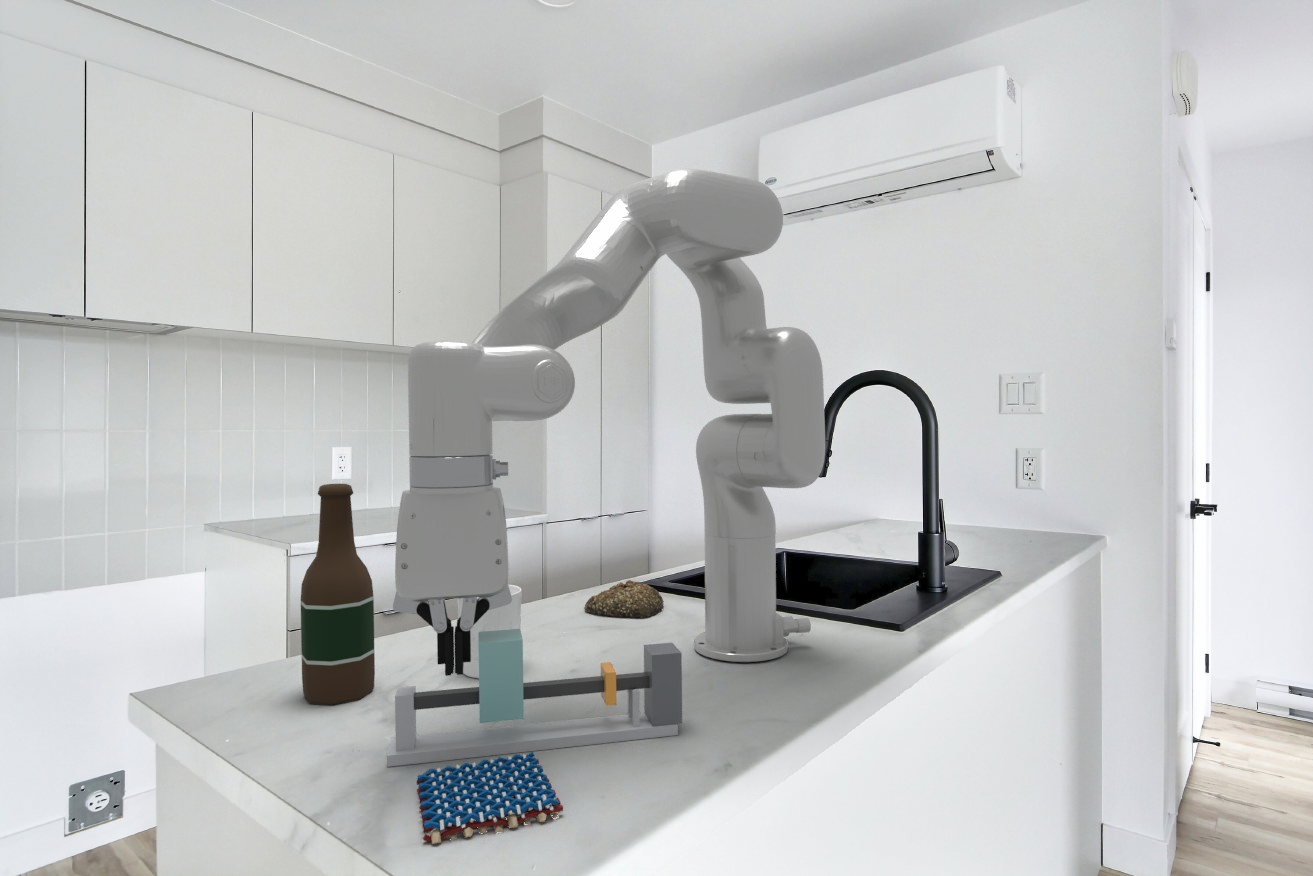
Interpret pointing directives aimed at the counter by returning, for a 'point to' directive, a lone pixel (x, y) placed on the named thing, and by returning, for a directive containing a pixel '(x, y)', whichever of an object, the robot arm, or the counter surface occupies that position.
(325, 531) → the beer bottle
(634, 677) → the teal block rod stand
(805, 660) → the counter surface
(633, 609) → the bread roll
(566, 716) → the counter surface
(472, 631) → the white cup
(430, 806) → the woven mat
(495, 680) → the teal sliding block
